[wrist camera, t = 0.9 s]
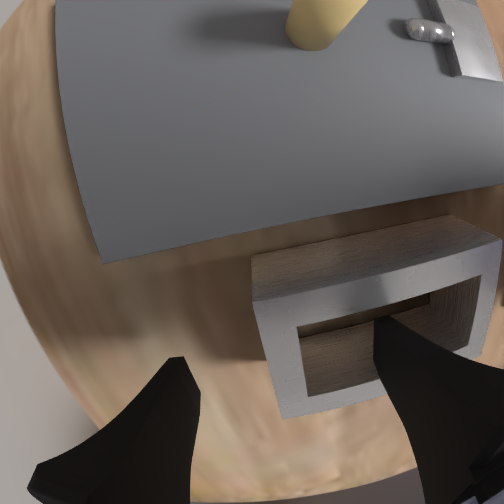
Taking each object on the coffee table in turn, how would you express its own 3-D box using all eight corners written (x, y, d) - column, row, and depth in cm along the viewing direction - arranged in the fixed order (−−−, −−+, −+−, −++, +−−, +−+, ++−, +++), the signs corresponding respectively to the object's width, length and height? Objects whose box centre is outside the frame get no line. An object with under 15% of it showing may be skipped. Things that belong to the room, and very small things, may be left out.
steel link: (450, 214, 12) (502, 239, 8) (443, 315, 14) (480, 355, 10) (251, 255, 13) (252, 302, 9) (276, 360, 15) (282, 419, 11)
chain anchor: (469, 10, 7) (480, 5, 6) (492, 83, 8) (506, 81, 7) (385, -8, 7) (395, -17, 6) (414, 75, 8) (427, 70, 8)
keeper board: (433, -45, 6) (481, -81, 1) (497, 177, 11) (571, 200, 6) (70, -2, 8) (9, -39, 3) (117, 252, 12) (52, 312, 7)
